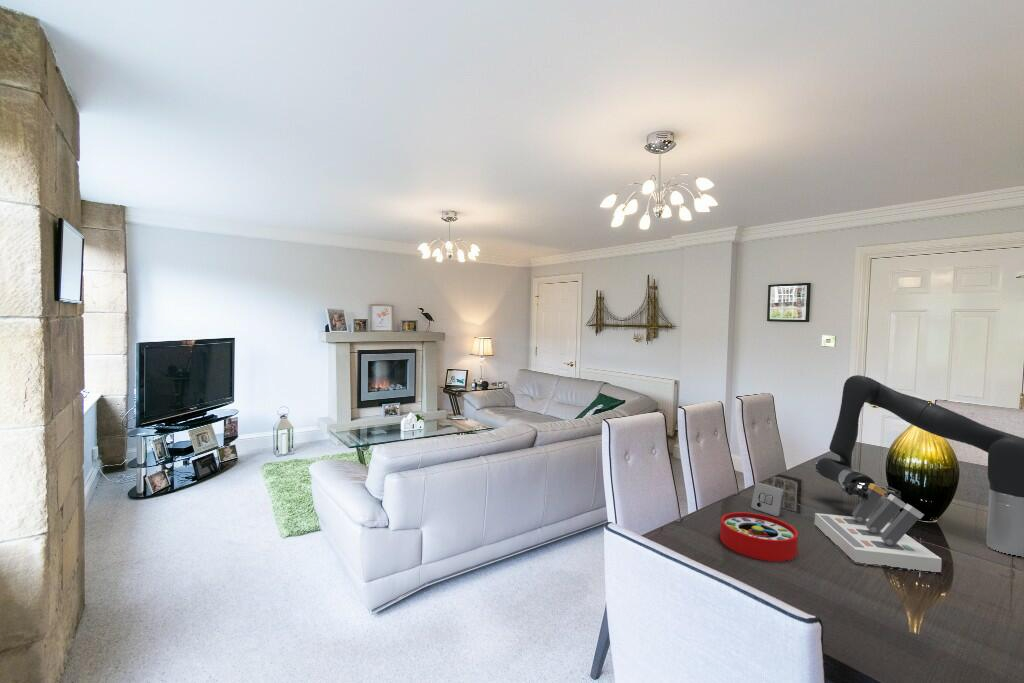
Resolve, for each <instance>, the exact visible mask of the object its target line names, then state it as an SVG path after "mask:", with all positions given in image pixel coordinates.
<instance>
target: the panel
mask: <svg viewBox="0 0 1024 683" xmlns="http://www.w3.org/2000/svg"><path fill="white" fill-rule="evenodd" d="M870 518H871V517H870ZM870 518H869V517H867V519H866V520H865V522H864V521H862V522H858V521H857V520H856V519H854V518H853V516H848V515H838V514H829V513H827V514H826V513H818V512H817V513H816V512H815V513H814V526H815V525H816V526H817V527H818V528H819V529H820V530H821V531H822V532H823V533H824V534H825V535H826V536H828V537H829V538H830V539H831V540H832V541H833V542H834V543H835V544H836V545H838V546H839V547H840V548H841V549H842V550H843V551H844V552H845V553H846V554H847V555H848V556H849V557H850V558H851V559H852V560H854V561H855V562H860V563H866V564H878V565H887V566H891V567H900V568H910V569H916V570H922V571H931V572H941V573H942V558H941V557H940V556H938V555H937V554H935V553H933V552H932V551H931V550H929V548H926V547H925V546H924V545H923V544H921V543H919V542H918V541H916V540H915V539H914V538H912V537H911V536H909V535H907V534H906V533H905V534H904V536H903V537H902V538H901V539H900V540H899V541H898V542H897V543H896V544H895V545H888V544H886V543H885V542H884V541H883V540H882V539H881V537H882V536H880V535H881V534H882V533H883V532H884V531H885V530H886V528H887V527H888V526H889V525H890V524H891V523H892V522H890V521H889V522H888V523H887V524H886V525H885V527H884V528H883V529H882V530H881V531H880V532H879V533H877V532H876V533H872V532H871V531H870V530H869V529H867V527H866V526H867V525H866V523H867V521H868V520H869V519H870ZM816 526H815V527H816ZM817 527H816V528H817ZM818 528H817V529H818ZM819 529H818V530H819ZM820 530H819V531H820ZM821 531H820V532H821ZM822 532H821V533H822ZM823 533H822V534H823ZM824 534H823V535H824ZM825 535H824V536H825ZM826 536H825V537H826Z"/></svg>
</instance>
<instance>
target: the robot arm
mask: <svg viewBox="0 0 1024 683" xmlns="http://www.w3.org/2000/svg"><path fill="white" fill-rule="evenodd" d="M841 395H842V397H841V402H840V409H839V415H838V418H837V421H836V425H835V430H834V432H833V434H832V438H831V441H830V444H829V451H830V452H832V453H833V454H836V455H837V456H839V458H840V460H837V459H833V458H831V457H830V458H829V457H822V458H820V459H819V460H818V461H817V462H816V463H817V464H816V470H817V472H818V473H819V475H820V476H821V477H823V478H826V479H827V480H828V479H829V480H830V481H833V482H835V483H837V484H838V485H840V486H841V491H843V492H845V493H846V494H847V495H849V496H853V495H854V496H855V497H857V498H861V499H862V498H863V499H864V500H868V493H867V492H866V491H867V490H868V486H869V485H870V483H872V484H874V485H876V486H878V487H880V488H881V489H883V490H885V491H886V492H885V494H884V495H882V496H881V498H880V499H882V500H885V499H888V498H887V497H888V496H889V495H890V494H892V495H894V496H895V497H897V498H898V499H900V500H901V501H902V496H901V493H902V492H901V490H897V489H895V488H893V487H891V486H890V485H886V486H882V485H878V484H876V483H875V481H874V480H873V478H871V477H870V476H868V475H866V474H864V473H863V472H861V471H859V470H857V469H854V468H852V466H853V465H852V463H853V462H852V460H853V451H854V449H855V446H856V442H857V439H858V435H859V420H860V415H861V414H860V413H861V411H862V408H863V406H864V404H865V403H866V404H868V405H869V404H870V405H872V406H876V407H878V408H881V409H884V410H887V411H888V412H890V413H892V414H894V416H895V415H896V416H897V417H898V418H900V419H902V420H903V421H905V422H907V423H908V424H910V425H912V426H914V427H916V428H919V430H923V431H925V432H926V433H930V434H932V435H934V436H937V437H940V438H944V439H948V440H951V441H956V442H959V443H962V444H966V445H970V446H972V447H975V448H977V449H979V450H982V451H983V452H985V453H987V479H988V483H989V488H988V489H989V490H988V509H987V510H988V511H987V513H988V514H987V527H986V538H985V539H986V546H987V548H989V547H990V549H991V550H994V551H995V550H996V552H998V551H999V552H998V553H1001V552H1002V553H1001V554H1004V553H1006V554H1005V555H1008V554H1011V555H1010V556H1012V555H1016V556H1015V557H1017V556H1021V557H1020V558H1024V437H1022V436H1018V435H1015V434H1011V433H1009V432H1005V431H1002V430H999V429H996V428H993V427H990V426H987V425H984V424H982V423H980V422H978V421H975V420H973V419H971V418H969V417H967V416H964V415H962V414H959V413H957V412H955V411H953V410H950V409H948V408H946V407H944V406H941V405H939V404H936V403H933V402H931V401H928V400H925V399H922V398H919V397H916V396H913V395H909V394H906V393H902V392H900V391H896V390H895V389H893V388H891V387H889V386H886V385H885V384H883V383H880V382H879V381H877V380H875V379H874V378H871V377H868V376H864V375H860V374H858V375H852V376H849V377H848V378H847V379H846V380H845V381H844V384H843V388H842V394H841ZM928 402H929V403H928ZM930 404H931V406H930Z"/></svg>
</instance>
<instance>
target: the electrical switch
mask: <svg viewBox="0 0 1024 683" xmlns="http://www.w3.org/2000/svg"><path fill="white" fill-rule="evenodd" d="M752 494H753V495H752V498H751V499H752V500H751V504H750V507H751V509H752V510H756V511H758V512H759V511H760V512H762V513H765V514H767V515H771V516H773V517H779V516H780V515H781V514H782V508H783V503H784V498H785V491H784V489H783V488H780V487H775V486H773V485H768V484H765V483H762V482H755V485H754V489H753V493H752Z"/></svg>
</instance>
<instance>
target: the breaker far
mask: <svg viewBox="0 0 1024 683" xmlns="http://www.w3.org/2000/svg"><path fill="white" fill-rule="evenodd" d="M905 504H906V505H905V506H904V507H903V510H901V511H900V513H899V514H898V515H897V516H896V518H894V519H893V520H892V522H890V523H891V524H890V525H889V526H888V527H887V528H886V530H885V531H884V532H883V533H882V534H881V535H880V536H882V537H881V539H882V540H883V541H884V542H885V543H886V544H888V545H895V544H896V543H897V542H898V541H899V540H900V539H901V538H902V537H903V536H904V534H906V533H907V532H909V530H910V529H911V528H912V527H913V526H914V524H916V522H917V521H918V520H921V519H922V518H923V517H924V516H925V513H922V512H921V511H920V510H919V509H917V508H915V507H914V506H912V505H910V504H909V503H905Z"/></svg>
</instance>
